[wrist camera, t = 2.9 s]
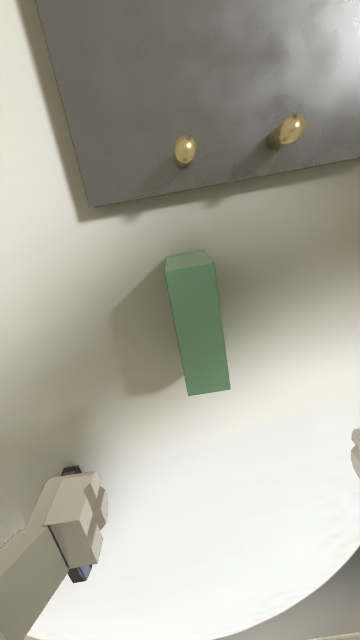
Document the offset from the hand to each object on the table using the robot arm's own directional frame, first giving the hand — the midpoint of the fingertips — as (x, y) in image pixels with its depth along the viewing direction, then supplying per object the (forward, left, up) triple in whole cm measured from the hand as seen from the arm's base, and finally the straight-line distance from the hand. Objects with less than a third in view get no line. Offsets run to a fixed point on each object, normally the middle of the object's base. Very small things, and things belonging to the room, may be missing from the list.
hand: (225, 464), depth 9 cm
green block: (0, 0, -16) cm, 16 cm away
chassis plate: (-4, -17, -16) cm, 24 cm away
